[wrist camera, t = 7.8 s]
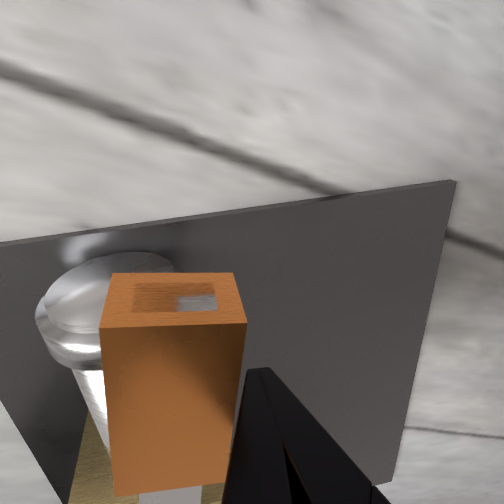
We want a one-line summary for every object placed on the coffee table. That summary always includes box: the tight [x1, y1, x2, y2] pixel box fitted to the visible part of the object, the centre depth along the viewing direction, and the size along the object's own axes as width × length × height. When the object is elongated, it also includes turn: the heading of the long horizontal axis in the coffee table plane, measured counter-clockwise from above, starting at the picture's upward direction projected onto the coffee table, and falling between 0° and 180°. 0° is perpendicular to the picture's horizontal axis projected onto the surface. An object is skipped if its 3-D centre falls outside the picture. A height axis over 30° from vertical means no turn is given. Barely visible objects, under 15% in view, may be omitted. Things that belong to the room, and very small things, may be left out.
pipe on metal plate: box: [0, 180, 456, 504], centre depth 18 cm, size 24×22×7 cm
